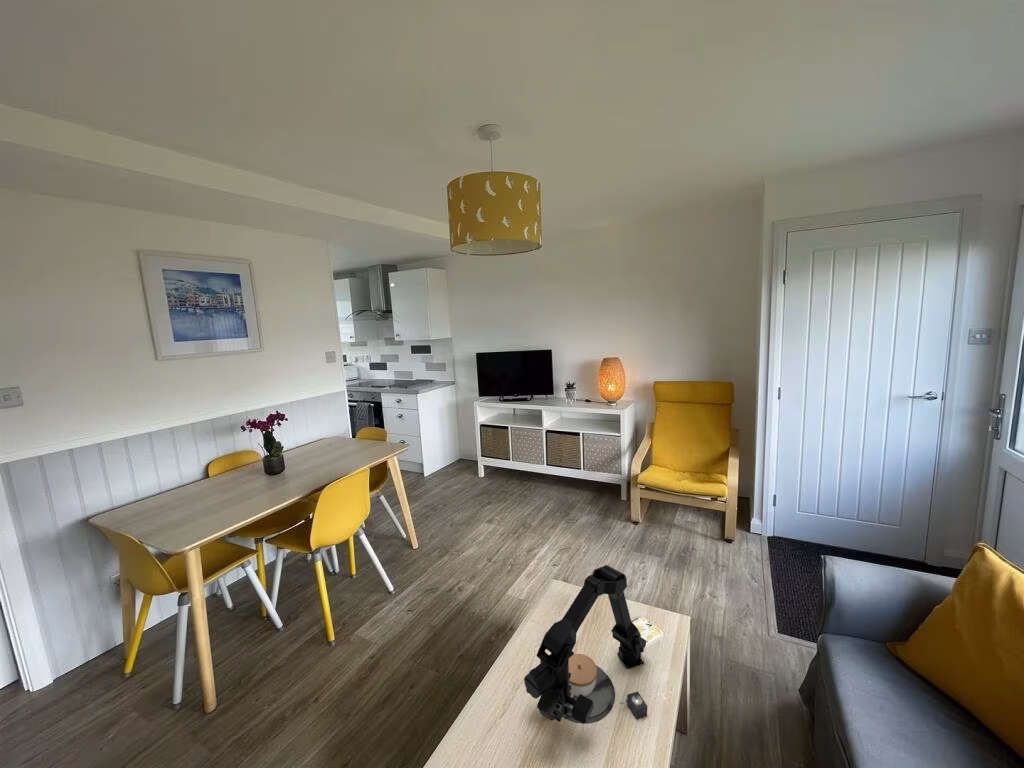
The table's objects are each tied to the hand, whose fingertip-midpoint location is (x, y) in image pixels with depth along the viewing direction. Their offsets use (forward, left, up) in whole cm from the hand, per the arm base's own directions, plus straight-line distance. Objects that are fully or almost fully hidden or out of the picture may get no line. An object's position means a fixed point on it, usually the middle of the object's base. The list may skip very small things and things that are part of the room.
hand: (559, 720), depth 122 cm
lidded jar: (-10, -9, -2) cm, 14 cm away
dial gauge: (-22, +3, -2) cm, 22 cm away
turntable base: (-10, -9, -2) cm, 14 cm away
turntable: (-8, -8, -1) cm, 11 cm away
